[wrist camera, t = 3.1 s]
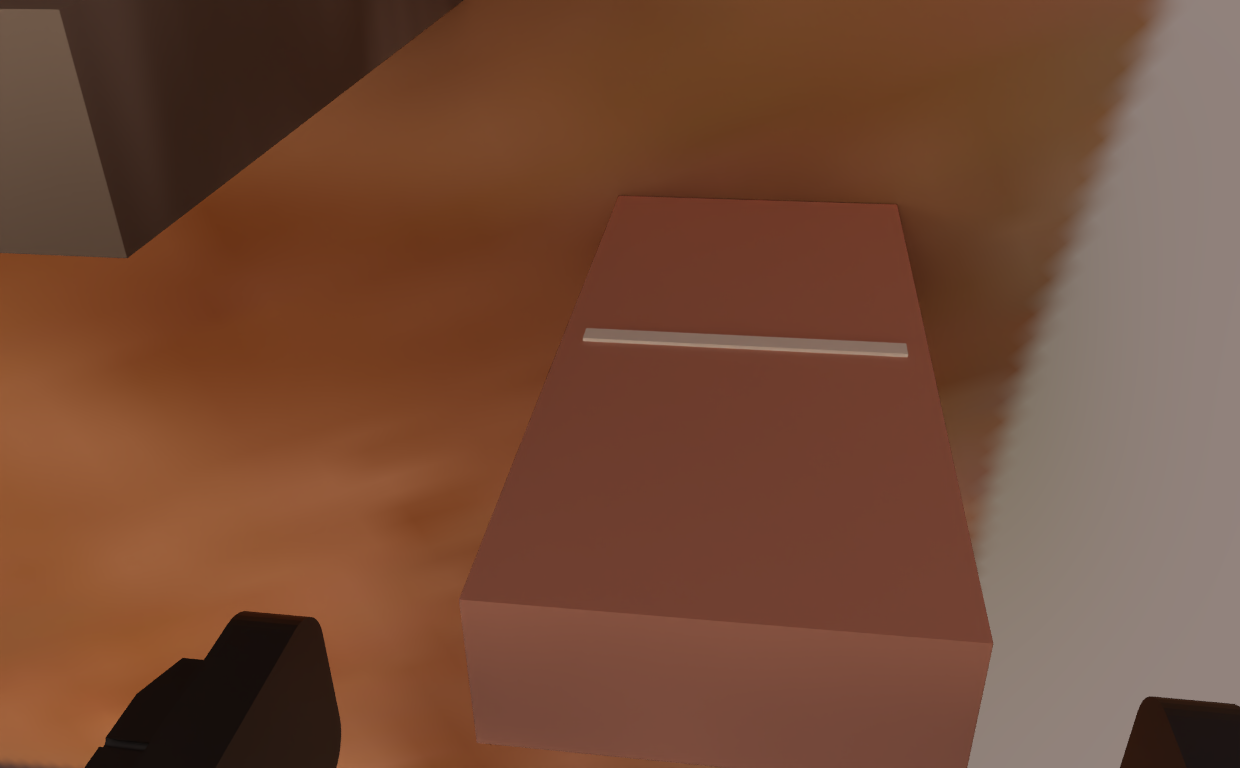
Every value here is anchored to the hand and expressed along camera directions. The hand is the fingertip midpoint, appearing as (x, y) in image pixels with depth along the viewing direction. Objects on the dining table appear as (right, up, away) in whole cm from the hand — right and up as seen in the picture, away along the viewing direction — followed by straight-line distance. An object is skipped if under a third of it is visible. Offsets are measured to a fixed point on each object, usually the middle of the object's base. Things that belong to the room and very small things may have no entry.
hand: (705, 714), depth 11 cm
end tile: (+2, +6, +9) cm, 11 cm away
